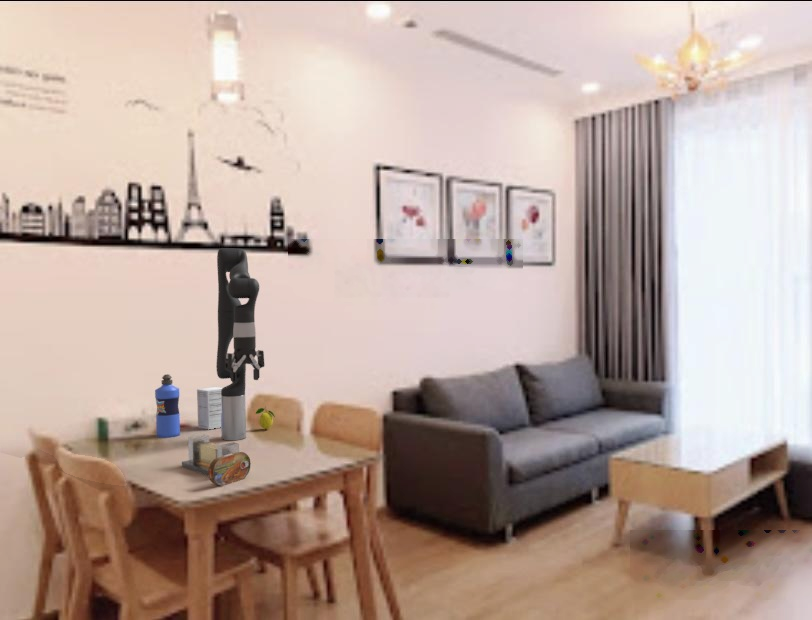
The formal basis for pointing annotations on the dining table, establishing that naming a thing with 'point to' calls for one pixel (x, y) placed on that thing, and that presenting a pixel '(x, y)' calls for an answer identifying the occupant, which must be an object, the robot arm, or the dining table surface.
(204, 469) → the stand
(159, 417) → the water bottle
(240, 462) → the tin
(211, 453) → the block
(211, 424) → the supplement box
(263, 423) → the lemon
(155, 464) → the dining table surface
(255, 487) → the dining table surface
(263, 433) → the dining table surface
